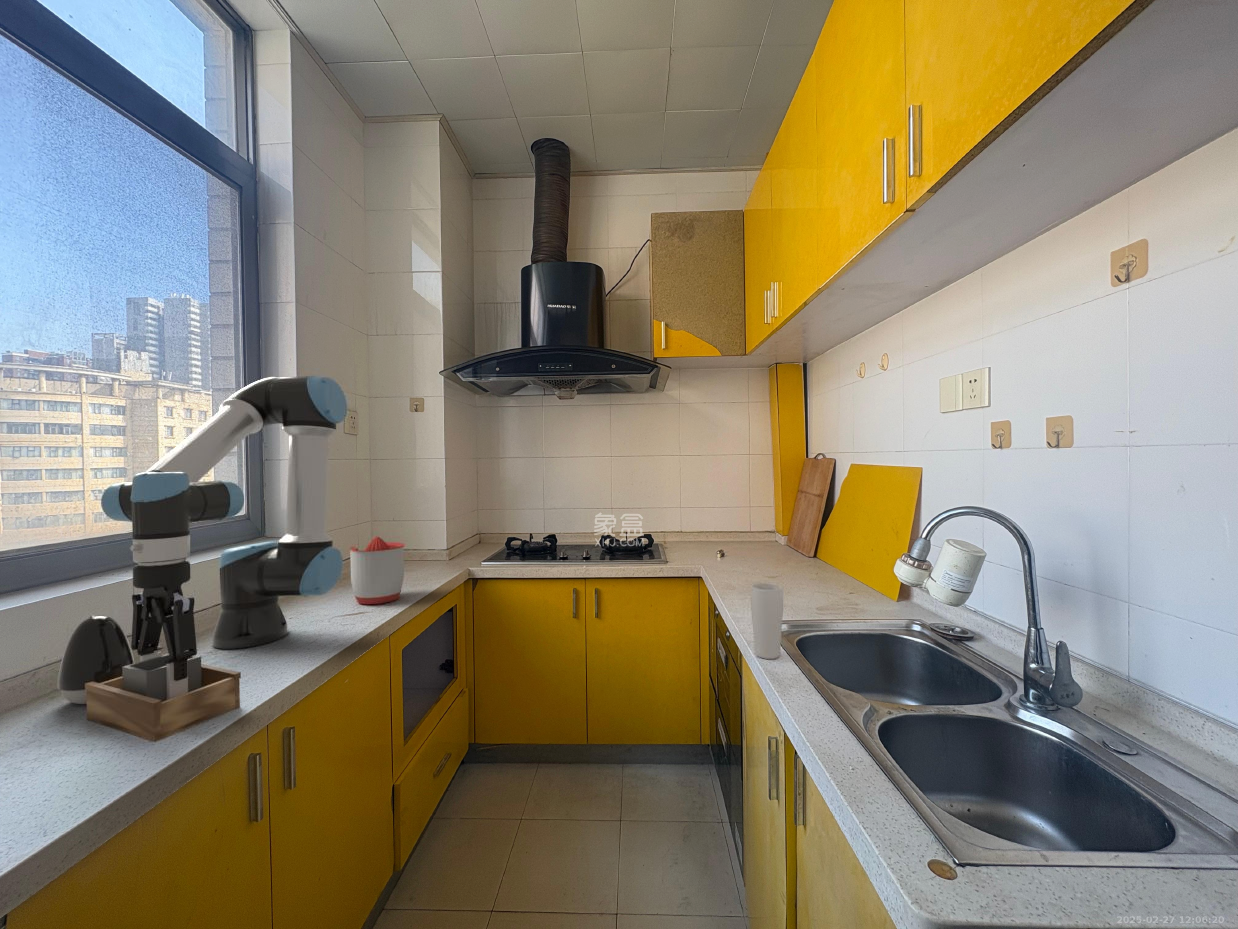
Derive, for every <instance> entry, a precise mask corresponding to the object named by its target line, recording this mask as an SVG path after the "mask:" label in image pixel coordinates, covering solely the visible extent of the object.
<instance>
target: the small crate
mask: <svg viewBox="0 0 1238 929" xmlns="http://www.w3.org/2000/svg"><path fill="white" fill-rule="evenodd" d="M167 660H170V658H169V653H167V654H164V655H161V656H160V657H156V658H152V659H149V660H145V661H141V662H140V661H139V662H136V663H134V664H131V665H127V666H124V667H122V688H123V690H125V691H129V692H132V693H136V694H139V695H143V696H147V697H150V698H154V699H157V700H161V701H162V702H163V701H166V700H167V671H166V663H165V661H167ZM187 663H188V692H191V691H194V690H197V689H199V688H201V664H202V656H201V655H197V654H196V655H194V656H191V657H189V658H188V660H187Z"/></svg>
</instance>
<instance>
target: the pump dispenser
mask: <svg viewBox="0 0 1238 929" xmlns="http://www.w3.org/2000/svg"><path fill="white" fill-rule="evenodd" d="M64 650H65V651H64V653H63V656H62V659H61V662H60V666H59V671H58V677H57V689H58V690H60V691H61V692H60V693H61V695H62V696H63V698H65V700H67V701H68V702H70V703H72V704H76V705H87V690H85V684H86V683H89V682H96V683H102V682H105V681H109V680H112V679H115V678H118V677H122V667H124V666H127V665H131V664H134V663H135V659H134V658H135V657H134V655H133V654H134V653H133V650H132V649H131V645H130V642H129V639H128V638H127V635H126V634H125V631H124V629H123V628H122V626H121V625H120V624H119V622H117V620H115V618H112V617H110V616H107V615H90V616H89V617H88V618H86V619H84V620H83V621H81V622H80V623H79V624H78V625H77V627H76V628H75V629H74V630H73V633H72V634H71V636H70V638H69V640H68V642H67V644H66V647H65V649H64Z"/></svg>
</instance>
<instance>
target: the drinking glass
mask: <svg viewBox="0 0 1238 929" xmlns="http://www.w3.org/2000/svg"><path fill="white" fill-rule="evenodd" d="M783 589H784V587H783V586H782V585H780V584H778V583H771V582H757V583H752V584H751V586H750V611H751V620H752V628H753V631H752V632H753V639H754V640H753V641H754V654H755V655H756V657H759V658H761V659H765V660H774V659H775V660H776V659H778V658H779V657H780V656H781V642H782V641H781V640H782V628H783V627H782V626H783V616H784V590H783Z"/></svg>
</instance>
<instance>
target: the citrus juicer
mask: <svg viewBox="0 0 1238 929" xmlns="http://www.w3.org/2000/svg"><path fill="white" fill-rule="evenodd" d="M404 546H405V544H404V543H401V542H394V541H392V542H389V541H388V542H385V541H384V540H383V539H382V538H381V537H380V536H375V537H374V538H373V539H371V541H370V542H369V543H368V544H367V546H366V548H365V549H364V550H359V548H357V547H355V546H351V547H349V551H350V553H349V554H350V555H349V556H350V583H351V587H352V591H353V594H354V598H355V600H356V602H357V603H358V604H361V605H373V604H379V605H381V604H385V603H389V602H393V601H395V600H398V598H399V597H400V594H401V592H402V589H403V583H404V579H405V558H404V557H405V555H404V552H405V549H404Z"/></svg>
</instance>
